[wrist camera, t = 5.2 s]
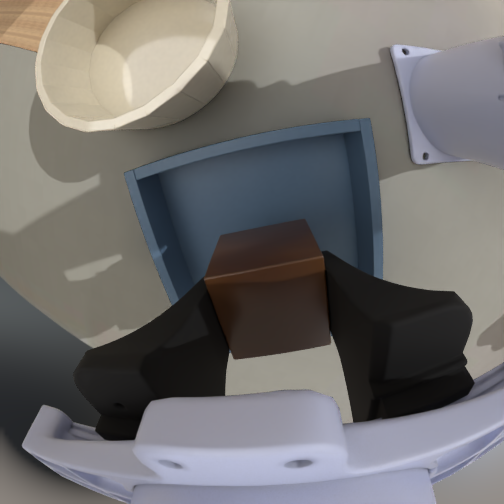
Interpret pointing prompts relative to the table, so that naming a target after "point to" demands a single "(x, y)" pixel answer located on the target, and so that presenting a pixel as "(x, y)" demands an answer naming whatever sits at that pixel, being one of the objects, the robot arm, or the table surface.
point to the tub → (262, 197)
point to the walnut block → (270, 290)
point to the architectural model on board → (25, 21)
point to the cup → (134, 61)
